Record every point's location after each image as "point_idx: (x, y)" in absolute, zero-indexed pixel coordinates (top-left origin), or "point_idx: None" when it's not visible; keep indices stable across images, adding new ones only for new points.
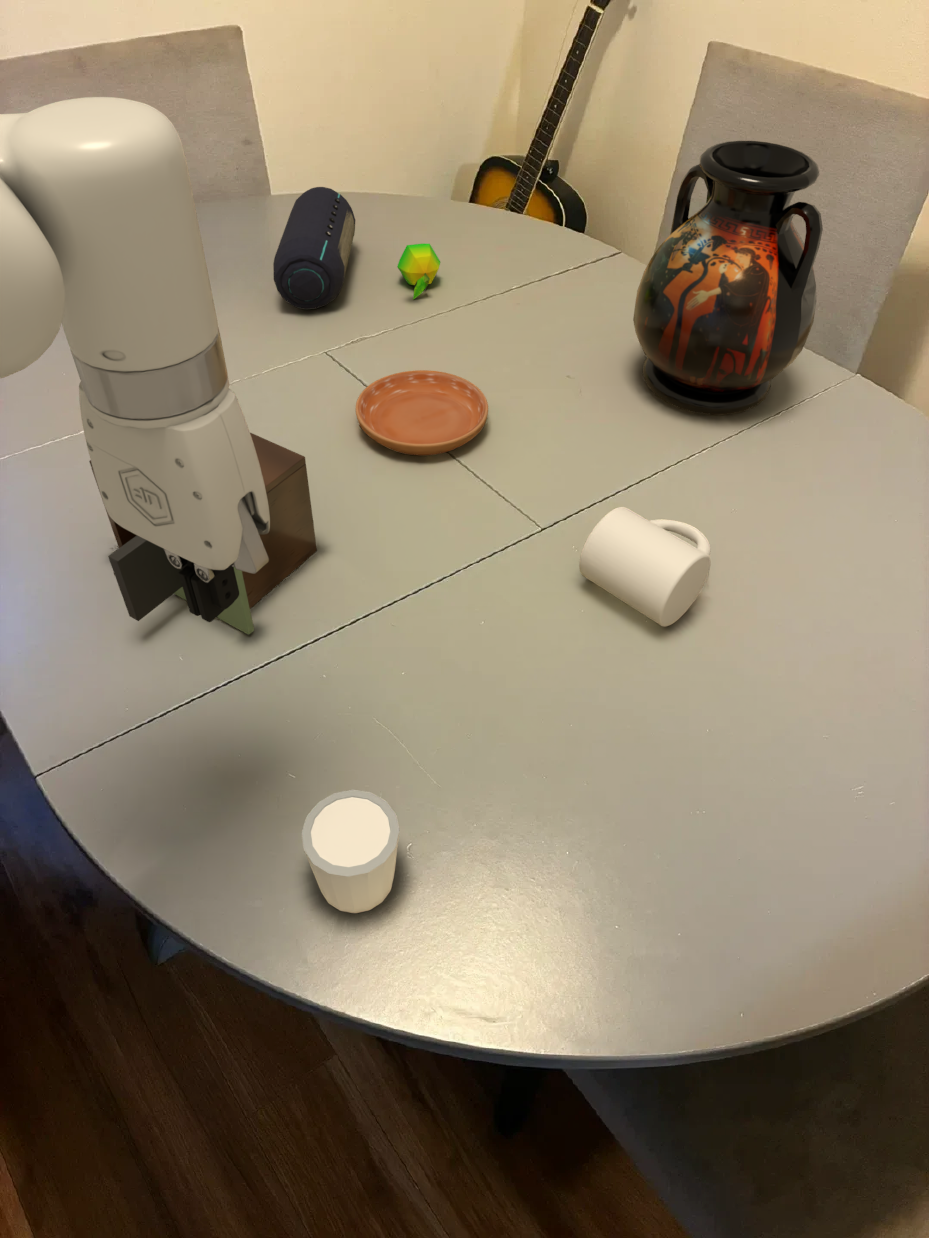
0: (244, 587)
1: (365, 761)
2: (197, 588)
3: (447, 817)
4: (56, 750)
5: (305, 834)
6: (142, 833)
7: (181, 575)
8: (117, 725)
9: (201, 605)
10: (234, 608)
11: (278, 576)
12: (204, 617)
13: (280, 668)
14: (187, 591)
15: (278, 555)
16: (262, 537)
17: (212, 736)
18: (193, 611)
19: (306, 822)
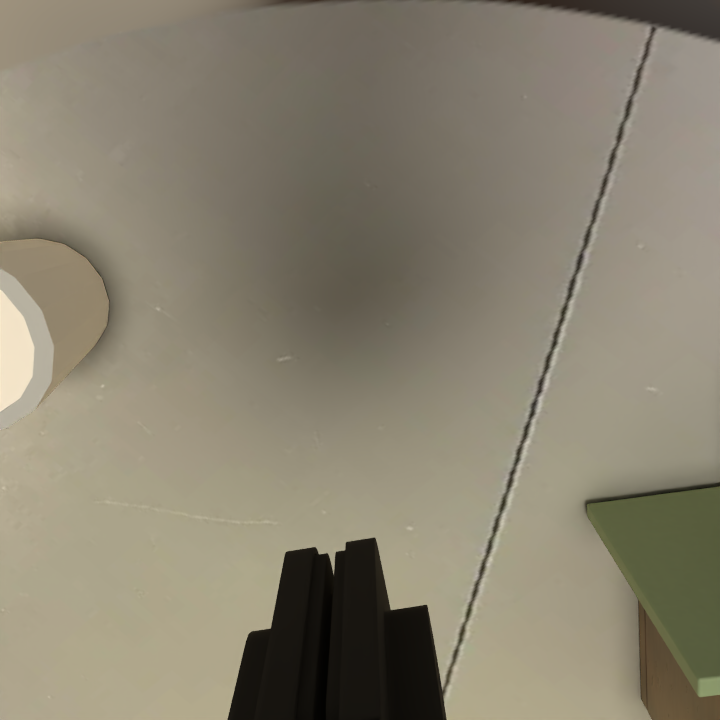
0: (633, 590)
1: (217, 457)
2: (264, 691)
3: (42, 470)
4: (675, 85)
5: (3, 279)
6: (383, 93)
7: (362, 709)
8: (624, 208)
9: (284, 606)
10: (634, 533)
11: (646, 624)
12: (295, 559)
13: (483, 491)
14: (349, 631)
15: (668, 668)
16: (704, 701)
17: (458, 316)
18: (351, 552)
19: (28, 299)
